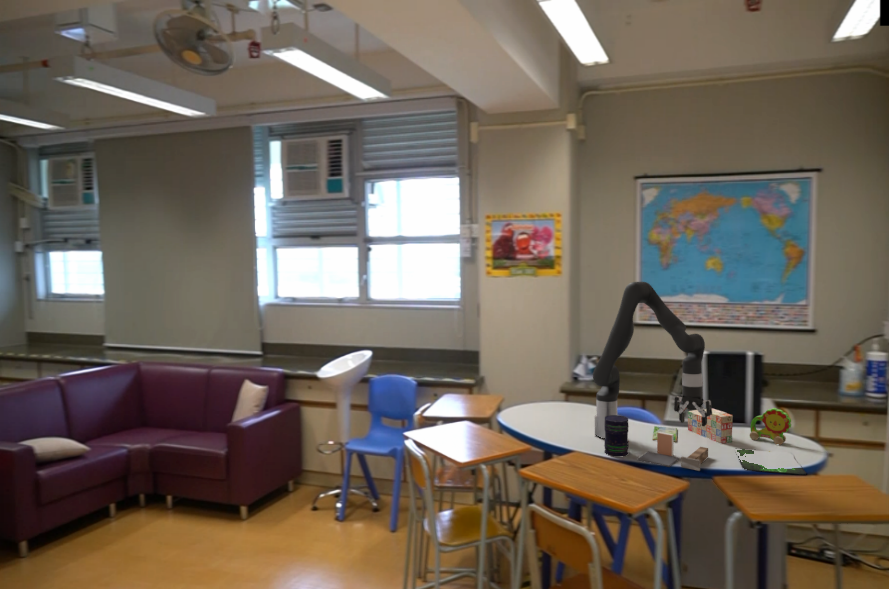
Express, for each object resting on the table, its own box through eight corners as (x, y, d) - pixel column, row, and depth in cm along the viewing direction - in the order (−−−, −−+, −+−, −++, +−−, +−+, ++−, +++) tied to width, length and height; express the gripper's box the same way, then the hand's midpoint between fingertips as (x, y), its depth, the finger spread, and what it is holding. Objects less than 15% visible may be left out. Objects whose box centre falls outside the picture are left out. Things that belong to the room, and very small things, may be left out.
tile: (657, 453, 255) (657, 432, 254) (659, 452, 256) (659, 431, 256) (671, 456, 251) (671, 435, 250) (673, 455, 252) (673, 434, 252)
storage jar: (604, 448, 263) (603, 414, 262) (627, 449, 261) (627, 415, 260) (604, 456, 253) (604, 421, 252) (629, 457, 251) (629, 422, 250)
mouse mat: (733, 448, 260) (733, 446, 260) (791, 452, 253) (791, 450, 253) (743, 471, 234) (743, 468, 234) (807, 476, 227) (807, 474, 227)
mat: (637, 460, 248) (637, 458, 248) (648, 452, 256) (648, 451, 256) (669, 466, 240) (669, 465, 239) (679, 459, 248) (679, 457, 248)
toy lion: (748, 439, 270) (749, 406, 269) (753, 436, 274) (753, 403, 273) (788, 447, 259) (788, 412, 258) (792, 444, 263) (792, 409, 262)
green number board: (652, 441, 272) (676, 443, 269) (652, 438, 272) (676, 440, 269) (654, 428, 291) (676, 430, 287) (654, 425, 291) (676, 427, 287)
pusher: (695, 455, 252) (695, 445, 252) (713, 458, 248) (713, 449, 248) (680, 467, 239) (680, 457, 239) (699, 471, 235) (699, 461, 235)
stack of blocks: (687, 430, 286) (687, 404, 285) (698, 428, 288) (698, 403, 287) (721, 444, 266) (721, 416, 265) (732, 442, 267) (732, 414, 267)
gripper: (670, 383, 245) (671, 423, 246) (706, 387, 235) (707, 429, 236) (678, 380, 250) (679, 419, 251) (714, 384, 240) (714, 424, 241)
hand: (693, 424), depth 243 cm, fingers open, 8 cm apart
